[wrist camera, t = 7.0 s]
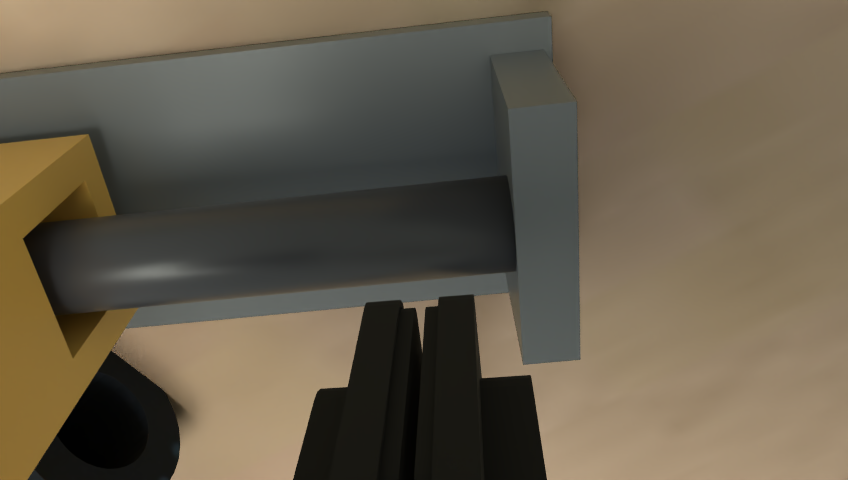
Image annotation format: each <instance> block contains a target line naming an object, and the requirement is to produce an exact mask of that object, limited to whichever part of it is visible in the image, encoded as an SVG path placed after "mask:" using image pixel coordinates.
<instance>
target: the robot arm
mask: <svg viewBox="0 0 848 480" xmlns="http://www.w3.org/2000/svg"><path fill="white" fill-rule="evenodd" d="M293 480H547V478H546V471H545V464H544V458H543V451H542V445H541V438H540V431H539V425H538V418H537V412H536V405H535V399H534V392H533V385H532V380H531V376H530V375H526V376H511V377H496V378H482V376H481V366H480V355H479V344H478V334H477V323H476V312H475V302H474V294H470V295H457V296H443V297H439V300H438V306H434V307H426V309H425V323H424V337H423V352H422V348H421V340H420V333H419V326H418V319H417V312H416V309H415V308H407V309H404V308H403V303H402V301H401V300H390V301H377V302H367V303H366V304H365V307H364V312H363V317H362V321H361V326H360V331H359V336H358V341H357V345H356V350H355V355H354V360H353V365H352V369H351V374H350V379H349V384H348V387H343V388H328V389H320V390H319V391H318V392H317V394H316V397H315V400H314V403H313V407H312V411H311V415H310V418H309V422H308V426H307V430H306V433H305V437H304V441H303V445H302V448H301V452H300V456H299V460H298V463H297V467H296V471H295V475H294V478H293Z"/></svg>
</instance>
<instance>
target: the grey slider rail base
mask: <svg viewBox="0 0 848 480" xmlns="http://www.w3.org/2000/svg"><path fill="white" fill-rule="evenodd" d="M85 134H89V137H90V140H91V143H92V146H93V149H94V151H95V154H96V157H97V160H98V163H99V166H100V169H101V172H102V175H103V178H104V181H105V184H106V186H107V189H108V192H109V195H110V198H111V201H112V204H113V207H114V210H115V213H116V215H113V216H103V217H93V218H83V219H74V220H64V221H54V222H44V223H39V224H38V225H37V226H36V227H35V228H34V229H33V230H31V231H30V232H29V233H28V234H27V235H26V236H25V237H24V238H23V240H24V243H25V245H26V247H27V250H28V252H29V255H30V257H31V259H32V262H33V264H34V267H35V269H36V271H37V274H38V276H39V279H40V281H41V283H42V286H43V288H44V291H45V293H46V295H47V298H48V300H49V303H50V305H51V307H52V310H53V312H54V315H55V316H56V315H66V314H77V313H87V312H98V311H108V310H119V309H129V308H138V309H137V311H136V312H135V314H134V315H133V317H132V319H131V320H130V322H129V323H128V325H127V326H126V328H137V327H147V326H158V325H168V324H179V323H190V322H200V321H211V320H222V319H232V318H243V317H254V316H264V315H275V314H285V313H296V312H307V311H317V310H328V309H339V308H349V307H360V306H365V304H366V303H367V302H377V301H390V300H401V301H402V302H413V301H424V300H434V299H439V297H443V296H457V295H470V294H474V296H477V295H488V294H498V293H509V295H510V300H511V305H512V310H513V315H514V320H515V325H516V331H517V336H518V341H519V346H520V351H521V356H522V361H523V365H526V364H537V363H548V362H560V361H571V360H580V297H579V221H578V146H577V101H576V99H575V98H574V96H573V95H572V93H571V92H570V90H569V88H568V87H567V85H566V84H565V82H564V81H563V79H562V78H561V76H560V74H559V73H558V71H557V70H556V68H555V67H554V65H553V54H552V19H551V15H550V14H549V13H548V12H547V11H545V12H536V13H527V14H519V15H510V16H501V17H492V18H484V19H475V20H466V21H457V22H449V23H440V24H431V25H422V26H413V27H405V28H396V29H387V30H378V31H370V32H361V33H352V34H343V35H335V36H326V37H317V38H308V39H300V40H291V41H282V42H273V43H264V44H256V45H247V46H238V47H229V48H221V49H212V50H203V51H194V52H186V53H177V54H168V55H159V56H151V57H142V58H133V59H124V60H115V61H107V62H98V63H89V64H80V65H72V66H63V67H54V68H45V69H37V70H28V71H19V72H10V73H1V74H0V144H2V143H11V142H21V141H30V140H39V139H48V138H57V137H67V136H76V135H85ZM126 328H125V329H126Z"/></svg>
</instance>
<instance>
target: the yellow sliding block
mask: <svg viewBox="0 0 848 480" xmlns="http://www.w3.org/2000/svg"><path fill="white" fill-rule="evenodd" d="M113 215H116V213H115V210H114V207H113V204H112V201H111V198H110V195H109V192H108V189H107V186H106V184H105V181H104V178H103V175H102V172H101V169H100V166H99V163H98V160H97V157H96V154H95V151H94V149H93V146H92V143H91V140H90V137H89V134H85V135H76V136H67V137H57V138H48V139H39V140H30V141H21V142H11V143H2V144H0V480H28V478H29V477H30V475H31V474H32V472H33V470H34V469H35V467H36V466H37V464H38V463H39V461H40V460H41V458H42V456H43V455H44V453H45V452H46V450H47V449H48V447H49V446H50V444H51V443H52V441H53V439H54V438H55V436H56V435H57V433H58V432H59V430H60V429H61V427H62V425H63V424H64V422H65V421H66V419H67V418H68V416H69V415H70V413H71V412H72V410H73V408H74V407H75V405H76V404H77V402H78V401H79V399H80V398H81V396H82V394H83V393H84V391H85V390H86V388H87V387H88V385H89V384H90V382H91V381H92V379H93V377H94V376H95V374H96V373H97V371H98V370H99V368H100V367H101V365H102V364H103V362H104V360H105V359H106V357H107V356H108V354H109V353H110V351H111V350H112V348H113V346H114V345H115V343H116V342H117V340H118V339H119V337H120V336H121V334H122V333H123V331H124V329H125V328H126V326H127V325H128V323H129V322H130V320H131V319H132V317H133V315H134V314H135V312H136V311H137V309H138V308H129V309H119V310H108V311H98V312H87V313H77V314H66V315H56V316H55V315H54V312H53V310H52V307H51V305H50V303H49V300H48V298H47V295H46V293H45V291H44V288H43V286H42V283H41V281H40V279H39V276H38V274H37V271H36V269H35V267H34V264H33V262H32V259H31V257H30V255H29V252H28V250H27V247H26V245H25V243H24V240H23V238H24V237H25V236H26V235H27V234H28V233H29V232H30V231H31V230H33V229H34V228H35V227H36V226H37V225H38V224H39V223H44V222H54V221H64V220H74V219H83V218H93V217H103V216H113Z"/></svg>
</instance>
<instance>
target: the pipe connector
mask: <svg viewBox="0 0 848 480" xmlns="http://www.w3.org/2000/svg"><path fill="white" fill-rule="evenodd" d="M179 451H180V436H179V428H178V424H177V420H176V416H175V413H174V411H173V408H172V406H171V404H170V402H169V399H168V398H167V396H166V395H165V393H164V391H163V390H162V389H161V388H160V387H158V386H157V385H156V384H154V383H153V382H152V381H150V380H149V379H148V378H146V377H145V376H144V375H142V374H141V373H140V372H138V371H137V370H136V369H135V368H133V367H132V366H131V365H129V364H128V363H127V362H125V361H124V360H123V359H121V358H120V357H119V356H117V355H116V354H115V353H113V352H112V351H110V353H109V354H108V356H107V357H106V359H105V360H104V362H103V364H102V365H101V367H100V368H99V370H98V371H97V373H96V374H95V376H94V377H93V379H92V381H91V382H90V384H89V385H88V387H87V388H86V390H85V391H84V393H83V394H82V396H81V398H80V399H79V401H78V402H77V404H76V405H75V407H74V408H73V410H72V412H71V413H70V415H69V416H68V418H67V419H66V421H65V422H64V424H63V425H62V427H61V429H60V430H59V432H58V433H57V435H56V436H55V438H54V439H53V441H52V443H51V444H50V446H49V447H48V449H47V450H46V452H45V453H44V455H43V456H42V458H41V460H40V461H39V463H38V464H37V466H36V467H35V469H34V470H33V472H32V474H31V475H30V477H29V478H28V480H170V479H171V477H172V475H173V474H174V472H175V469H176V465H177V462H178V459H179Z"/></svg>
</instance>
